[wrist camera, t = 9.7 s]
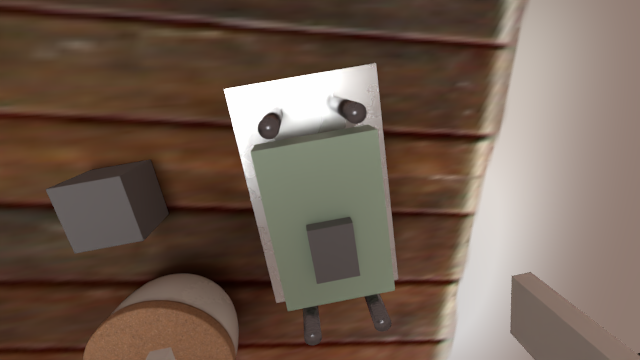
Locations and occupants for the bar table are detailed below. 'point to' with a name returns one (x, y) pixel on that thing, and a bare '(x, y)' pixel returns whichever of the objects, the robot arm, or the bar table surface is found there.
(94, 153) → the bar table surface
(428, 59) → the bar table surface
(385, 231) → the board
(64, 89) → the bar table surface
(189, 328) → the lidded jar
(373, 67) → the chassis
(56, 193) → the dark grey cube
